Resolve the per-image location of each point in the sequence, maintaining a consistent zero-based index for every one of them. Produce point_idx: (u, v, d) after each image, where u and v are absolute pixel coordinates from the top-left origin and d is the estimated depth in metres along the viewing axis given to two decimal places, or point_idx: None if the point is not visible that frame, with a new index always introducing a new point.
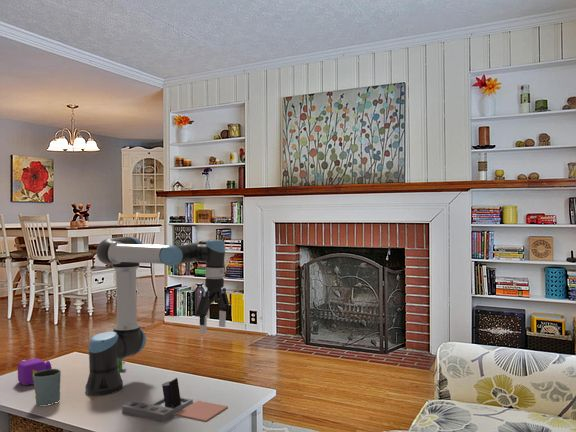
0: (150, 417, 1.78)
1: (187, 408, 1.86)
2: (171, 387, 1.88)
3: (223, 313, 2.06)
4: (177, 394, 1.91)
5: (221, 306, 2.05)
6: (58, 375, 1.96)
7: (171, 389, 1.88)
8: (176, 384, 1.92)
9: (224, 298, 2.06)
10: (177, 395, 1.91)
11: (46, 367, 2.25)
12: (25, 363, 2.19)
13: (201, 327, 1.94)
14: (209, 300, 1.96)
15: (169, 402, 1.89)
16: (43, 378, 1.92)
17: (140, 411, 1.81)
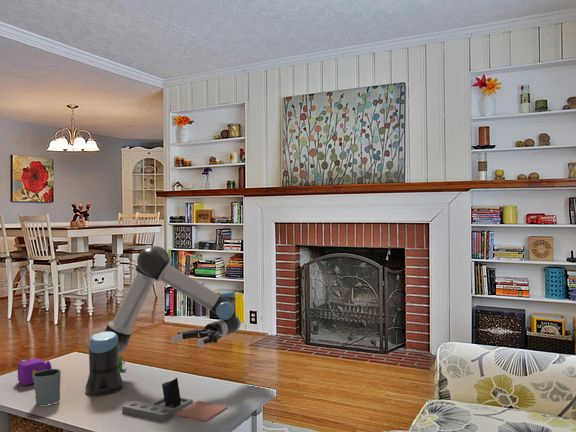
0: (150, 417, 1.78)
1: (187, 408, 1.86)
2: (171, 387, 1.88)
3: (181, 339, 2.08)
4: (177, 394, 1.91)
5: (187, 336, 2.10)
6: (58, 375, 1.96)
7: (171, 389, 1.88)
8: (176, 384, 1.92)
9: None
10: (177, 395, 1.91)
11: (46, 367, 2.25)
12: (25, 363, 2.19)
13: (201, 341, 1.98)
14: None
15: (169, 402, 1.89)
16: (43, 378, 1.92)
17: (140, 411, 1.81)
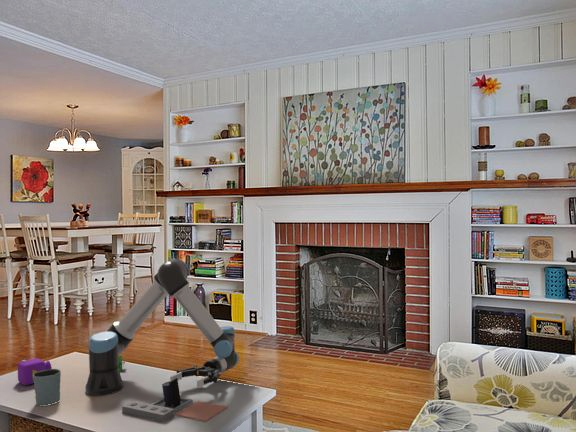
0: (150, 417, 1.78)
1: (187, 408, 1.86)
2: (171, 387, 1.88)
3: (180, 377, 2.06)
4: (177, 394, 1.91)
5: (186, 374, 2.09)
6: (58, 375, 1.96)
7: (171, 389, 1.88)
8: (176, 384, 1.92)
9: None
10: (177, 395, 1.91)
11: (46, 367, 2.25)
12: (25, 363, 2.19)
13: (201, 381, 1.97)
14: None
15: (169, 402, 1.89)
16: (43, 378, 1.92)
17: (140, 411, 1.81)
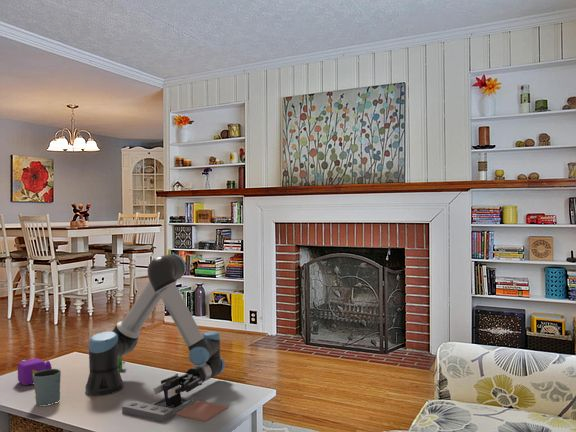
0: (150, 417, 1.78)
1: (187, 408, 1.86)
2: (172, 387, 1.88)
3: None
4: (178, 394, 1.91)
5: None
6: (58, 375, 1.96)
7: None
8: (177, 384, 1.92)
9: None
10: (178, 395, 1.91)
11: (46, 367, 2.25)
12: (25, 363, 2.19)
13: (173, 391, 1.87)
14: None
15: (170, 403, 1.89)
16: (43, 378, 1.92)
17: (140, 411, 1.81)
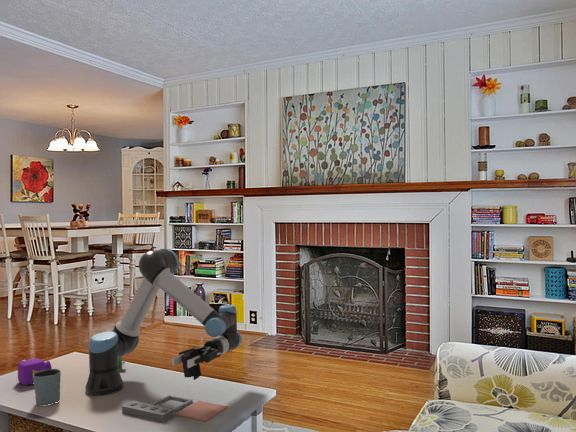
0: (150, 417, 1.78)
1: (187, 408, 1.86)
2: (191, 358, 1.84)
3: None
4: (197, 365, 1.87)
5: None
6: (58, 375, 1.96)
7: None
8: (196, 355, 1.88)
9: None
10: (197, 366, 1.87)
11: (46, 367, 2.25)
12: (25, 363, 2.19)
13: (192, 361, 1.83)
14: None
15: (189, 373, 1.85)
16: (43, 378, 1.92)
17: (140, 411, 1.81)
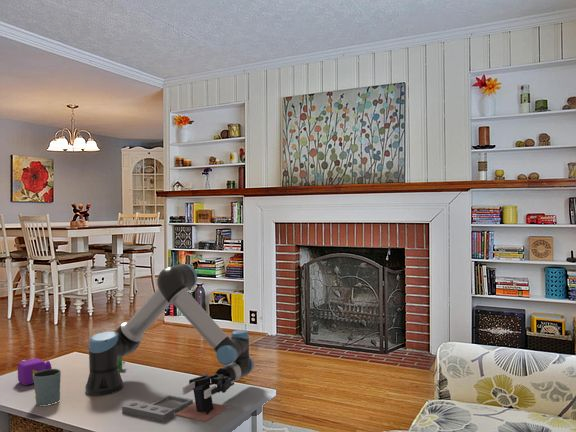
0: (150, 417, 1.78)
1: (187, 408, 1.86)
2: None
3: (193, 388, 1.88)
4: (209, 399, 1.84)
5: (199, 383, 1.91)
6: (58, 375, 1.96)
7: None
8: (208, 388, 1.85)
9: None
10: (209, 400, 1.84)
11: (46, 367, 2.25)
12: (25, 363, 2.19)
13: (209, 391, 1.80)
14: (222, 384, 1.91)
15: (201, 408, 1.82)
16: (43, 378, 1.92)
17: (140, 411, 1.81)
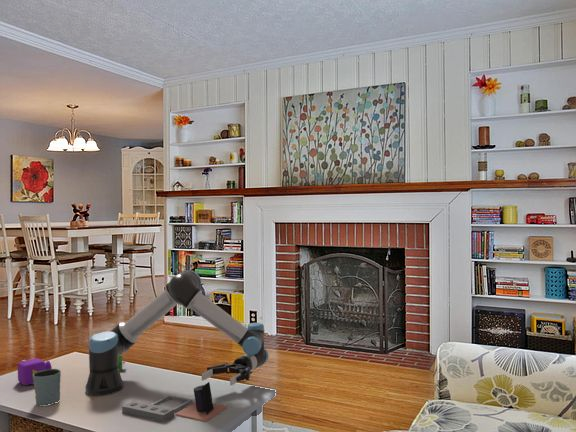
0: (150, 417, 1.78)
1: (187, 408, 1.86)
2: (204, 392, 1.81)
3: (211, 374, 2.01)
4: (209, 399, 1.84)
5: (217, 371, 2.04)
6: (58, 375, 1.96)
7: (204, 394, 1.81)
8: (209, 388, 1.85)
9: None
10: (209, 400, 1.84)
11: (46, 367, 2.25)
12: (25, 363, 2.19)
13: (234, 379, 1.92)
14: None
15: (201, 408, 1.82)
16: (43, 378, 1.92)
17: (140, 411, 1.81)
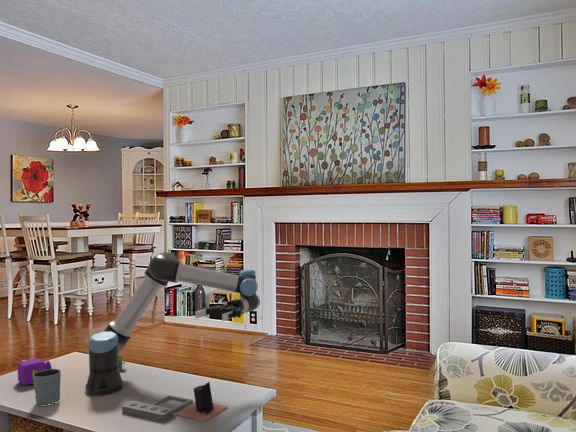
0: (150, 417, 1.78)
1: (187, 408, 1.86)
2: (204, 392, 1.81)
3: (204, 314, 2.11)
4: (209, 399, 1.84)
5: (210, 311, 2.13)
6: (58, 375, 1.96)
7: (204, 394, 1.81)
8: (209, 388, 1.85)
9: None
10: (210, 400, 1.84)
11: (46, 367, 2.25)
12: (25, 363, 2.19)
13: (226, 315, 2.02)
14: None
15: (201, 408, 1.82)
16: (43, 378, 1.92)
17: (140, 411, 1.81)
